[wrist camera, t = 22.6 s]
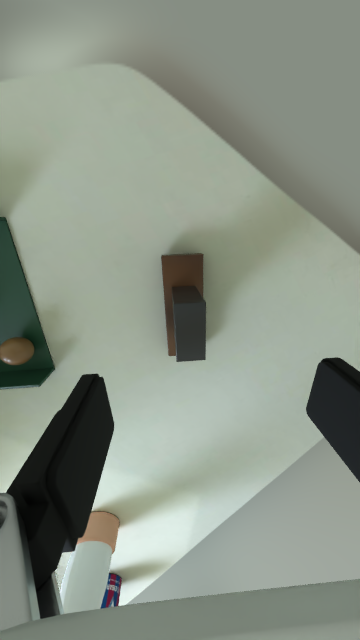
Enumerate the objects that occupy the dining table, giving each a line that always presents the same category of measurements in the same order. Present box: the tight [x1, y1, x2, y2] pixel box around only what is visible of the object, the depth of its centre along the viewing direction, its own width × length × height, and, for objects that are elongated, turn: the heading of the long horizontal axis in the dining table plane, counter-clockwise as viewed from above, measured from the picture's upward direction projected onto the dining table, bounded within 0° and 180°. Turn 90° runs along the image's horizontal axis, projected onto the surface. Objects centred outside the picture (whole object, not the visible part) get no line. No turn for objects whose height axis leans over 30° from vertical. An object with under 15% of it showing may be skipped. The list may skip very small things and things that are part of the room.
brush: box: [161, 253, 206, 362], centre depth 19 cm, size 11×4×7 cm, turn 2°
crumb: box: [0, 337, 34, 365], centre depth 22 cm, size 3×3×3 cm
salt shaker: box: [60, 512, 119, 614], centre depth 28 cm, size 7×7×19 cm
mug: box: [100, 574, 122, 609], centre depth 43 cm, size 7×10×7 cm
